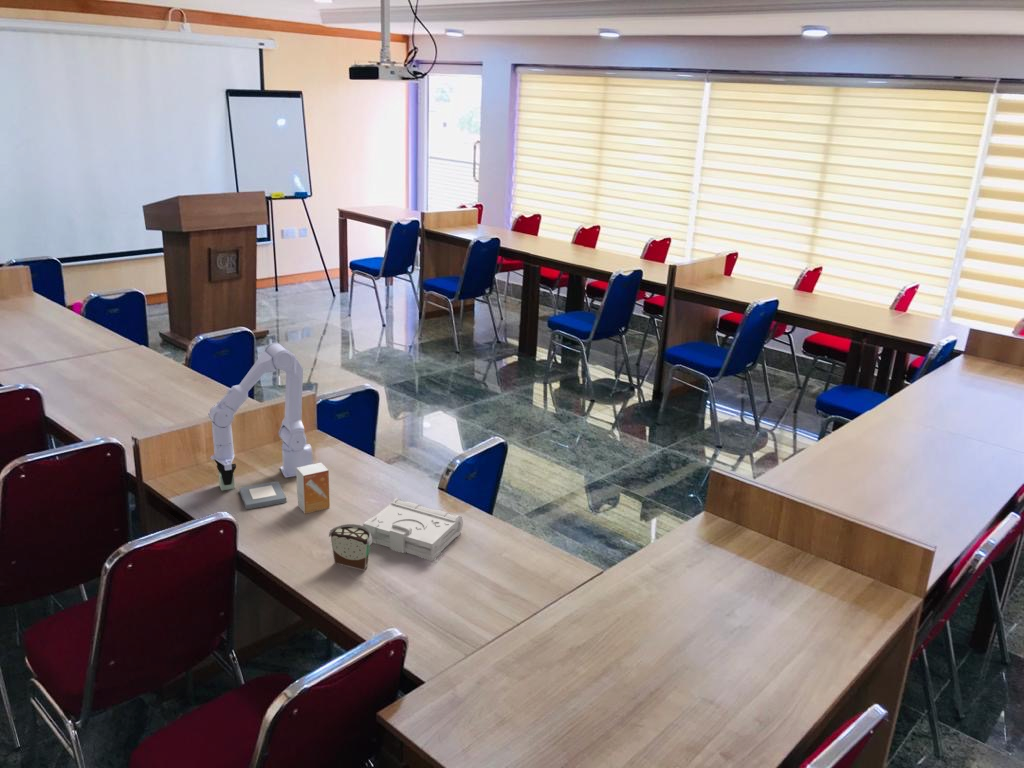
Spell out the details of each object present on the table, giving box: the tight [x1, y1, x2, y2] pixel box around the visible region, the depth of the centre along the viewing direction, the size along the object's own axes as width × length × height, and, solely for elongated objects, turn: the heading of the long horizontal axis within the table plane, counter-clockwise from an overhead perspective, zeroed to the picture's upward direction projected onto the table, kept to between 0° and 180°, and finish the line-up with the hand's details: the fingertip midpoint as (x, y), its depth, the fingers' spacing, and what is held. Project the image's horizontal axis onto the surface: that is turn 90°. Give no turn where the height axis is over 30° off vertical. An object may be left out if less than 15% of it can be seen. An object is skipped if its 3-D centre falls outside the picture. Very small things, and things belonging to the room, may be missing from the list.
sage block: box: [217, 470, 235, 491], centre depth 266 cm, size 4×4×5 cm
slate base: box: [238, 480, 288, 510], centre depth 261 cm, size 12×12×2 cm
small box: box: [295, 462, 331, 514], centre depth 255 cm, size 8×6×13 cm
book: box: [363, 497, 464, 562], centre depth 243 cm, size 19×28×8 cm
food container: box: [328, 523, 373, 571], centre depth 228 cm, size 12×6×10 cm, turn 71°
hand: (226, 481), depth 266 cm, fingers closed on sage block, 4 cm apart
